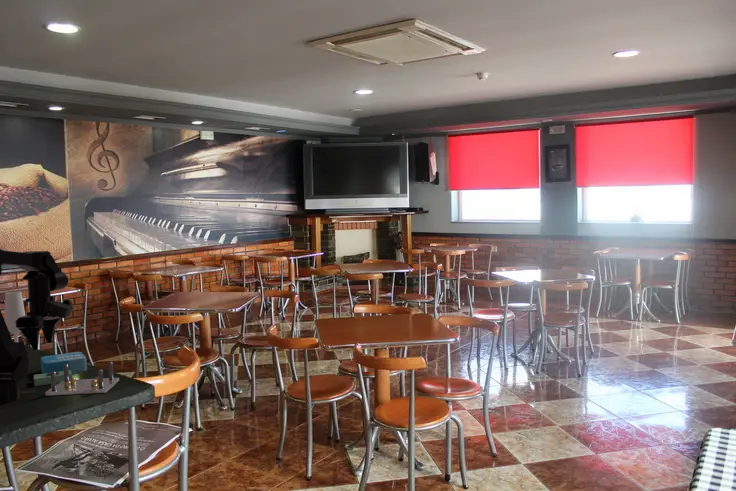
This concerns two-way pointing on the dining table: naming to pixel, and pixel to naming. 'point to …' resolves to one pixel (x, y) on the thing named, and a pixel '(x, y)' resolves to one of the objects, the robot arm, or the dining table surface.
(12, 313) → the champagne flute
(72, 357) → the data package
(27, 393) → the dining table surface
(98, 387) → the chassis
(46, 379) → the board
